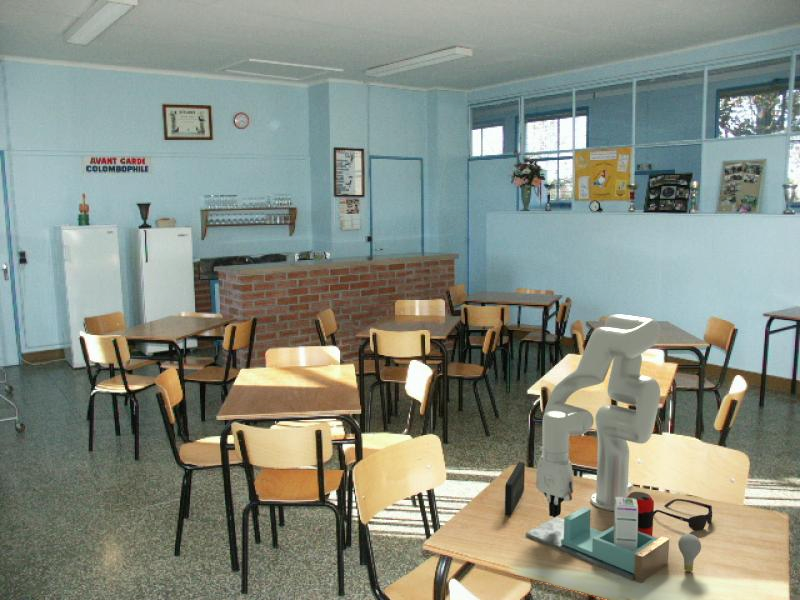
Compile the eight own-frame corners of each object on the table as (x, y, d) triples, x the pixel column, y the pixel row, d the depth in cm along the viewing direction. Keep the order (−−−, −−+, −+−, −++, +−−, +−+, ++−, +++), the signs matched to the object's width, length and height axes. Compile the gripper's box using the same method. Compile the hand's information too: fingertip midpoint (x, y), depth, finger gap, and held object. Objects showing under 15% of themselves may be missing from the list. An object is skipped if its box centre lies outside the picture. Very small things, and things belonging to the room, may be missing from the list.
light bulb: (673, 566, 189) (675, 530, 188) (693, 565, 190) (695, 529, 188) (683, 577, 184) (685, 540, 183) (703, 576, 185) (705, 539, 183)
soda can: (638, 544, 202) (640, 503, 200) (618, 533, 208) (620, 493, 207) (658, 538, 205) (660, 498, 203) (638, 527, 212) (639, 488, 210)
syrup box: (637, 559, 189) (639, 506, 186) (613, 556, 190) (615, 504, 188) (635, 548, 194) (637, 497, 192) (612, 546, 195) (614, 495, 193)
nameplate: (510, 516, 220) (511, 485, 218) (504, 515, 220) (505, 484, 219) (524, 490, 239) (524, 461, 238) (518, 489, 240) (519, 460, 238)
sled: (586, 529, 208) (586, 505, 207) (658, 557, 192) (659, 531, 191) (561, 543, 200) (561, 519, 199) (634, 573, 184) (635, 547, 183)
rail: (556, 519, 217) (557, 497, 216) (668, 563, 191) (670, 538, 190) (525, 535, 207) (526, 512, 206) (640, 583, 181) (641, 557, 180)
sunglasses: (697, 535, 207) (698, 519, 207) (646, 518, 219) (646, 502, 218) (717, 521, 216) (718, 505, 216) (667, 505, 228) (668, 490, 227)
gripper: (526, 451, 209) (525, 511, 212) (570, 465, 198) (569, 528, 201) (541, 444, 214) (541, 503, 217) (585, 458, 203) (584, 519, 206)
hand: (554, 515), depth 209 cm, fingers closed
